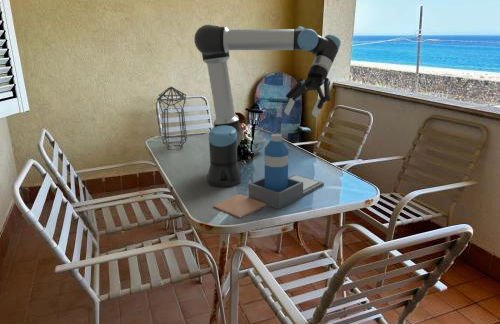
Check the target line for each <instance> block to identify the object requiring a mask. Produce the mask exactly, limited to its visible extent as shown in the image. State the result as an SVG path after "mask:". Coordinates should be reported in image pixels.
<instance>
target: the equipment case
mask: <svg viewBox="0 0 500 324" xmlns="http://www.w3.org/2000/svg"><path fill="white" fill-rule="evenodd" d="M323 186H325V182H323V181H319V180H316V179H312V178H308V177H305V176H301V175H297V174H294V175H291V176H288V188H287V189H285V190H283V191H281V192H276V191H273V190H270V189H267V188H265V176H263V177H261V178H259V179H256V180H254V181H252V182H250V183H248V197H249V198H252V199H254V200H257V201H260V202H263V203H265V204H267V205H266V206H269V207H272V208H275V209H277V210H280V209H282V208H284V207H286V206H287V205H289V204H292V203H293V202H295V201H297V200H299V199H301V198H303V197H304V196H307V195H308V194H310V193H312V192H314V191H317V190H318V189H320V188H322V187H323Z"/></svg>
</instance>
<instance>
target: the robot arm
mask: <svg viewBox="0 0 500 324" xmlns="http://www.w3.org/2000/svg"><path fill="white" fill-rule="evenodd" d="M341 43H342V42H341V40H340V38H339V37H338V36H337V35H334V34H333V35H332V34H326V35H325V36H321V35H319V34H318V33H317V32H316V30H314V29H312V28H307V27H303V26H300V25H299V26H297V28H296V29H294V28H293V29H292V28H291V29H289V28H288V29H287V28H286V29H285V28H284V29H283V28H281V29H278V28H277V29H276V28H275V29H274V28H273V29H271V28H270V29H266V28H264V29H262V28H261V29H229V28H228V27H227V26H218V25H212V24H204V25H201V26H200V27H199V28H198V29H197V30H196V32H195V34H194V45H195V47H196V49H197V50H198V51H199V52H200V53H201V57H202V61H203V62H204V63H205V64H206V65H207V72H208V77H209V83H210V89H211V95H212V100H213V106H214V113H215V119H214V121H213V127H212V128H211V129H210V130H209V132H208V143H209V145H208V146H209V161H210V165H209V170H208V173H207V175H206V182H207V184H208V185H209V186H213V187H216V188H228V187H234V186H237V185H239V184H241V183H242V182H243V181H242V173H241V170H240V167H239V165H238V164H239V163H238V147H239V146H240V142H241V140H242V137H243V136H244V135H243V129H242V127H241V125H240V119H239V117H237V116H236V112H235V108H234V102H233V101H234V100H233V94H232V93H233V92H232V87H231V83H230V75H229V67H228V60H229V59H230V58H231V57H230V51H306V52H309V53H311V54H313V55H314V56H315V57H314V59H313V62H312V64H311V65H310V66H311V67H310V68H309V71H308V72H307V77H306V78H305V79H303V78H299V80H298V82H296V84H295V85H294V86H293V87H292V88H291V89H290V90H289V91H288V93H287V94H286V95H285V98H287V102H286V106H285V109H284V111H283V112H284V113H285V114H286V115H287V116H289V115H290V114H291V111H292V109H293V107H294V105H295V100H297V99H298V98H300V96H302V95H303V94H304V93H306V92H309V91H317V93H318V99H317V100H316V102H315V104H314V107H313V109H312V112H311V114H312V116H313V117H314V118H318V117H317V116H318V115H319V112H320V110H322V108H323V107H324V104H325V103H326V102H330V101H331V90H330V85H331V80H330V79H329V77H327V76H328V74H329V72H330V71H331V67H332V65H333V63H334V61H335V59H336V58H337V54H338V53H339V49H340V47H341ZM322 86H323V89H324V90H323V91H324V93H323V91H322Z"/></svg>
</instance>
